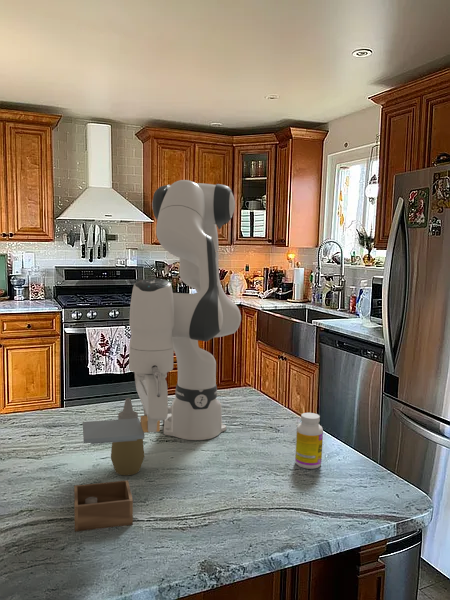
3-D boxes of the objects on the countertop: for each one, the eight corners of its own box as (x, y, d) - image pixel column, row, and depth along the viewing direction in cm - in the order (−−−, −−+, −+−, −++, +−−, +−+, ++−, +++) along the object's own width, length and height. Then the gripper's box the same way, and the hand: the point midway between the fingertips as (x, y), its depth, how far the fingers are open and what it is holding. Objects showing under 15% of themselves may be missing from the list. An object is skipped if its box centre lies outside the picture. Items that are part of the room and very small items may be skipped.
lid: (82, 429, 108) (82, 414, 108) (154, 424, 112) (155, 409, 112) (83, 447, 99) (83, 431, 99) (162, 441, 103) (162, 425, 103)
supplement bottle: (320, 471, 130) (323, 421, 129) (294, 468, 132) (296, 418, 130) (321, 460, 137) (324, 412, 135) (295, 457, 138) (298, 410, 137)
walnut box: (74, 508, 109) (74, 485, 108) (128, 502, 112) (128, 480, 111) (74, 531, 100) (74, 506, 100) (132, 524, 103) (133, 500, 103)
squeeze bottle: (150, 467, 130) (151, 396, 128) (134, 480, 122) (135, 405, 120) (121, 461, 132) (121, 392, 130) (103, 474, 125) (104, 401, 123)
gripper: (176, 373, 96) (175, 445, 98) (159, 349, 116) (157, 409, 117) (142, 374, 95) (141, 448, 96) (130, 350, 114) (129, 411, 116)
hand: (150, 426), depth 107 cm, fingers closed on lid, 3 cm apart
